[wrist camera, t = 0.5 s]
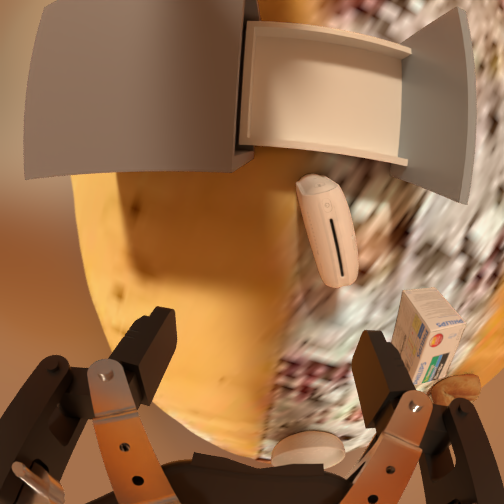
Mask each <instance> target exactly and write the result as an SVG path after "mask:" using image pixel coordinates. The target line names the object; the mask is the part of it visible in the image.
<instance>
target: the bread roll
mask: <svg viewBox="0 0 504 504" xmlns="http://www.w3.org/2000/svg"><path fill="white" fill-rule="evenodd" d="M480 391H481V384H480V380H479V377H478V376H476V375H474V374H464V375H456V376H451V377H448V378H446V379H443V380H441V381H440V382H438V383H437V384H436V385H435V386H434V387H433V388H432V391H431V394H432V400H433V402H434V403H435V404H437V405H444V406H448V405H449V404H450V403H451V401H452V400H453V399H455V398H465V399H467V400H469V401H470V402H471V403H472V402H474V401H475V400H476V399H477V398H478V396H479V394H480Z"/></svg>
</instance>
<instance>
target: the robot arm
mask: <svg viewBox="0 0 504 504" xmlns="http://www.w3.org/2000/svg"><path fill="white" fill-rule="evenodd" d="M176 345H177V331H176V318H175V311H174V309H170V308H164V307H159V306H157V307H155V309H154V310H153V312H152V313H151V315H150V316H145V315H144V316H142V317H141V318H139V319H138V320H136V321H135V322H134V323H133V324H132V326H131V327H130V329H129V330H128V331H127V333H126V334H125V337H123V338H122V340H121V341H120V342H119V344H118V345H117V347H116V348H115V350H114V351H113V352H112V354H111V355H110V357H109V358H108V359H101V360H98V361H96V362H95V363H93V364H92V365H91V366H90V367H89V368H77V367H70V365H69V363H68V361H67V360H66V359H65V358H64V357H62V356H59V355H52V356H48V357H46V358H45V359H43V360H42V361H41V362H40V363H39V365H38V366H37V367H36V369H35V370H34V371H33V373H32V374H31V375H30V377H29V378H28V379H27V381H26V382H25V383H24V385H23V386H22V388H21V389H20V390H19V392H18V393H17V395H16V396H15V398H14V399H13V401H12V402H11V403H10V405H9V406H8V408H7V409H6V411H5V412H4V414H3V415H2V417H1V419H0V504H64V502H65V499H64V496H65V494H64V489H63V487H62V485H61V484H60V480H61V477H62V474H63V472H64V470H65V468H66V465H67V463H68V461H69V459H70V456H71V454H72V452H73V450H74V448H75V445H76V443H77V441H78V439H79V437H80V435H81V433H82V431H83V429H84V426H85V424H86V422H87V420H88V419H93V425H94V429H95V434H96V438H97V441H98V445H99V449H100V452H101V456H102V459H103V462H104V465H105V468H106V471H107V474H108V477H109V480H110V483H111V486H112V488H113V491H112V492H110V493H108V494H106V495H104V496H102V497H99V498H97V499H95V500H93V501H90V502H88V503H86V504H397V503H398V502H399V500H400V498H401V496H402V494H403V492H404V490H405V488H406V487H407V484H408V482H409V480H410V478H411V476H412V474H413V472H414V470H415V468H416V465H417V463H418V461H419V465H420V470H421V475H422V480H423V486H424V492H425V497H426V504H504V487H503V483H502V480H501V476H500V473H499V470H498V466H497V463H496V460H495V457H494V454H493V451H492V449H491V446H490V443H489V440H488V438H487V435H486V433H485V431H484V428H483V425H482V423H481V420H480V419H479V416H478V413H477V411H476V409H475V407H474V405H473V404H472V403H471V402H470V401H469V400H467V399H465V398H455V399H453V400H452V401H451V403H450V404H449V405H448V406H444V405H437V404H432V401H431V399H430V398H429V397H428V396H427V395H426V394H425V393H423V392H421V391H417V390H416V389H415V387H414V384H413V382H412V380H411V377H410V375H409V373H408V371H407V368H406V367H405V364H404V362H403V360H402V358H401V355H400V353H399V351H398V349H397V348H396V347H395V346H394V345H392V344H391V343H390V342H386V340H385V338H384V335H383V333H382V332H381V331H373V330H364V331H363V332H362V335H361V337H360V340H359V343H358V345H357V348H356V350H355V353H354V355H353V359H352V372H353V376H354V380H355V384H356V388H357V392H358V396H359V401H360V405H361V409H362V414H363V418H364V423H365V427H366V428H376V434H375V435H374V436H373V438H372V440H371V441H370V443H369V444H368V446H367V448H366V449H365V451H364V453H363V454H362V455H361V457H360V459H359V460H358V461H357V463H356V464H355V466H354V467H353V469H352V470H351V471H350V472H349V473H348V474H347V476H346V477H345V478H343V477H341V476H338V475H336V474H333V473H330V472H326V471H324V463H323V464H288V465H282V466H276V467H270V468H262V469H259V468H258V469H257V468H254V467H251V466H247V465H245V464H242V463H239V462H236V461H233V460H230V459H227V458H223V457H217V456H211V455H206V454H200V453H195V452H194V454H193V458H192V459H189V460H178V461H173V462H169V463H166V464H163V465H160V463H159V461H158V459H157V457H156V454H155V452H154V450H153V448H152V446H151V443H150V441H149V439H148V436H147V434H146V431H145V429H144V427H143V424H142V422H141V419H140V416H139V414H138V411H137V410H138V408H139V406H140V404H144V405H147V406H150V404H151V402H152V400H153V397H154V395H155V393H156V391H157V389H158V386H159V384H160V382H161V380H162V378H163V375H164V373H165V371H166V369H167V367H168V365H169V362H170V360H171V358H172V356H173V354H174V352H175V349H176ZM451 444H452V447H453V450H454V454H455V457H456V464H455V467H454V464H453V460H452V457H451V454H450V450H449V446H450V445H451Z"/></svg>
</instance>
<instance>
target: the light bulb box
mask: <svg viewBox="0 0 504 504" xmlns="http://www.w3.org/2000/svg"><path fill="white" fill-rule="evenodd" d="M465 327H466V322H465V321H464V320H463V319H462V318H461V316H460V315H459V314H458V313H457V312H456V311H455V309H454V308H453V307H452V306H451V305H450V304H449V302H448V301H447V300H446V299H445V298H444V297H443V296H442V295H441V293H440V292H439V291H438V290H437V289H436V288H435V287H431V288H421V289H411V290H403V292H402V297H401V303H400V308H399V313H398V317H397V322H396V326H395V330H394V334H393V338H392V344H393V345H394V346H395V347H396V348H397V349H398V351H399V353H400V355H401V358H402V360H403V362H404V364H405V367H406V368H407V371H408V373H409V375H410V377H411V380H412V382H413V384H414V385H417V384H421V383H425V382H429V381H432V380H436V379H440V378H444V377H445V376H446V374H447V371H448V369H449V367H450V364H451V362H452V359H453V357H454V354H455V352H456V349H457V347H458V344H459V342H460V339H461V337H462V334H463V332H464V329H465Z"/></svg>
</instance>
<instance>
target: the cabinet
mask: <svg viewBox="0 0 504 504" xmlns="http://www.w3.org/2000/svg"><path fill="white" fill-rule="evenodd" d="M247 21H261V18H260V11H259V5H258V0H57V1H55V2H53V3H51V4H49V5H47V6H46V7H44V10H43V13H42V17H41V20H40V24H39V27H38V31H37V35H36V39H35V43H34V48H33V53H32V58H31V63H30V70H29V76H28V82H27V91H26V101H25V113H24V114H25V115H24V174H25V180H28V179H36V178H44V177H54V176H65V175H77V174H91V173H110V172H138V171H195V172H225V173H232V172H234V171H235V170H237V169H238V168H240V167H241V166H243V165H245V164H246V163H248V162H249V161H251V160H252V159H254V147H255V145H239V133H240V116H241V99H242V84H243V69H244V55H245V41H246V28H247Z"/></svg>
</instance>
